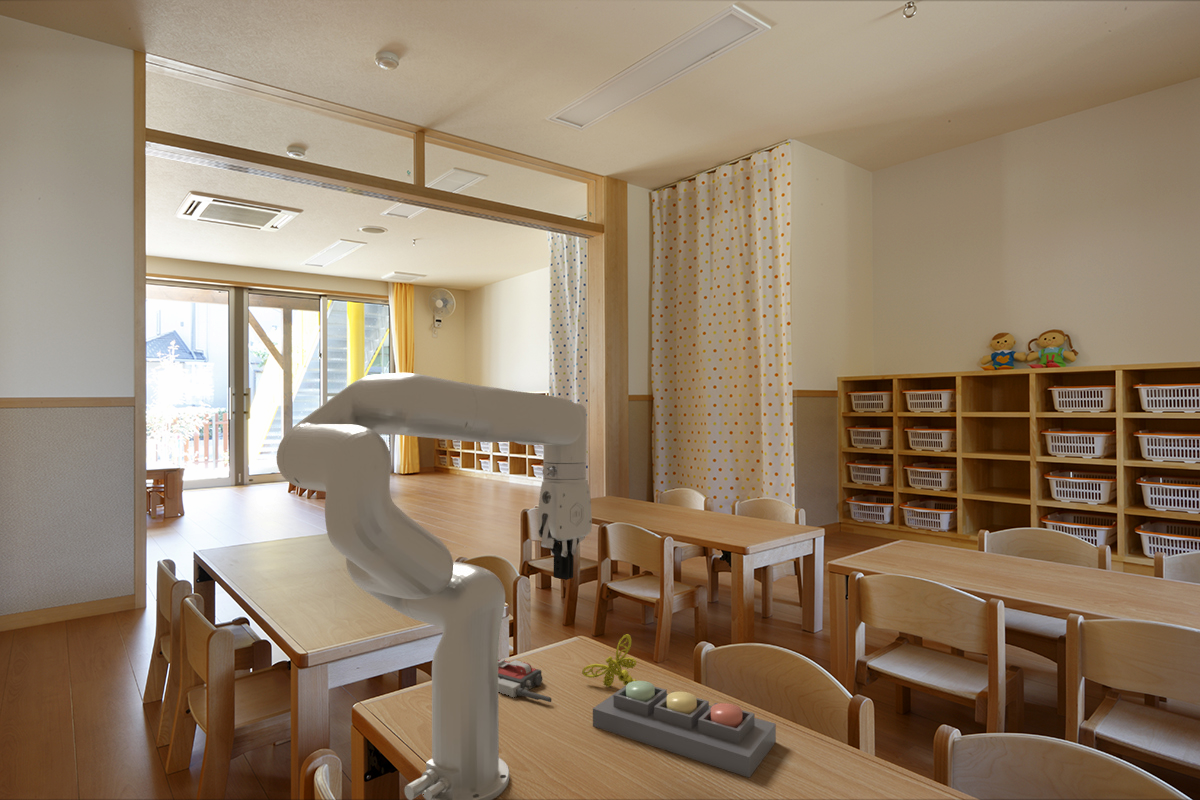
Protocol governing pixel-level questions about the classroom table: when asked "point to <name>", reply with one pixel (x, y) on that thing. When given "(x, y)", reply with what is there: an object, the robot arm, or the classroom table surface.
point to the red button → (726, 714)
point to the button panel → (688, 731)
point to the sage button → (640, 690)
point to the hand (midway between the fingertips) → (563, 577)
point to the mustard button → (682, 702)
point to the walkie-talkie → (519, 679)
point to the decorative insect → (615, 666)
